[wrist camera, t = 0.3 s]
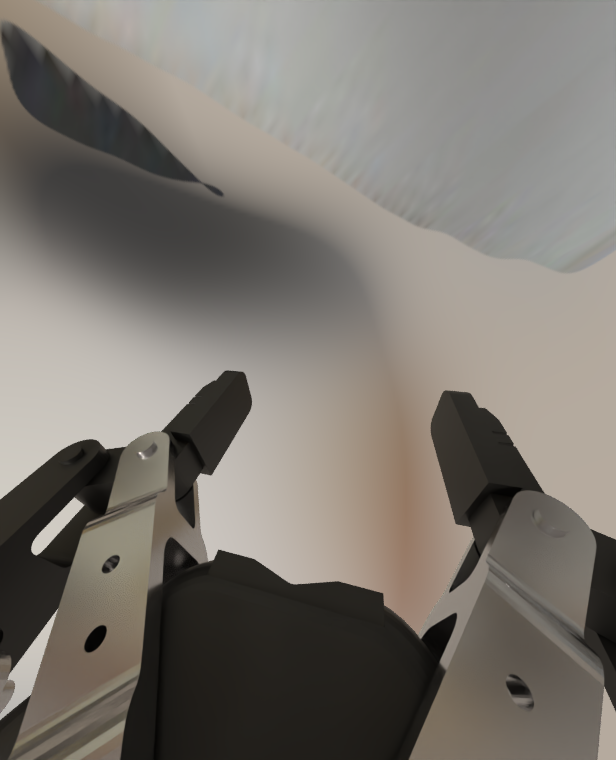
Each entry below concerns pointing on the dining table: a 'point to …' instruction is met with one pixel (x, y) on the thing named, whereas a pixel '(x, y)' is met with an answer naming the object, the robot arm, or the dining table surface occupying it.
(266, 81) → the dining table surface
